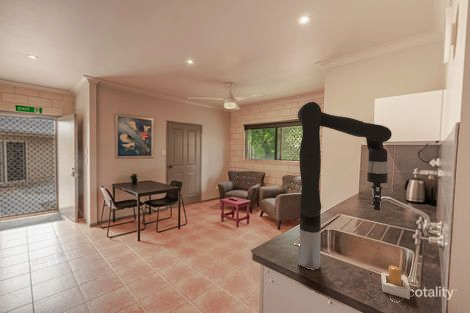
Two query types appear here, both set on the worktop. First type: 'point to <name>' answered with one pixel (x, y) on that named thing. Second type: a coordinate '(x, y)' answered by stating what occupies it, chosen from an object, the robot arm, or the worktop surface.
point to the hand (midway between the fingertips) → (376, 207)
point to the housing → (394, 289)
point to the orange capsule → (394, 275)
